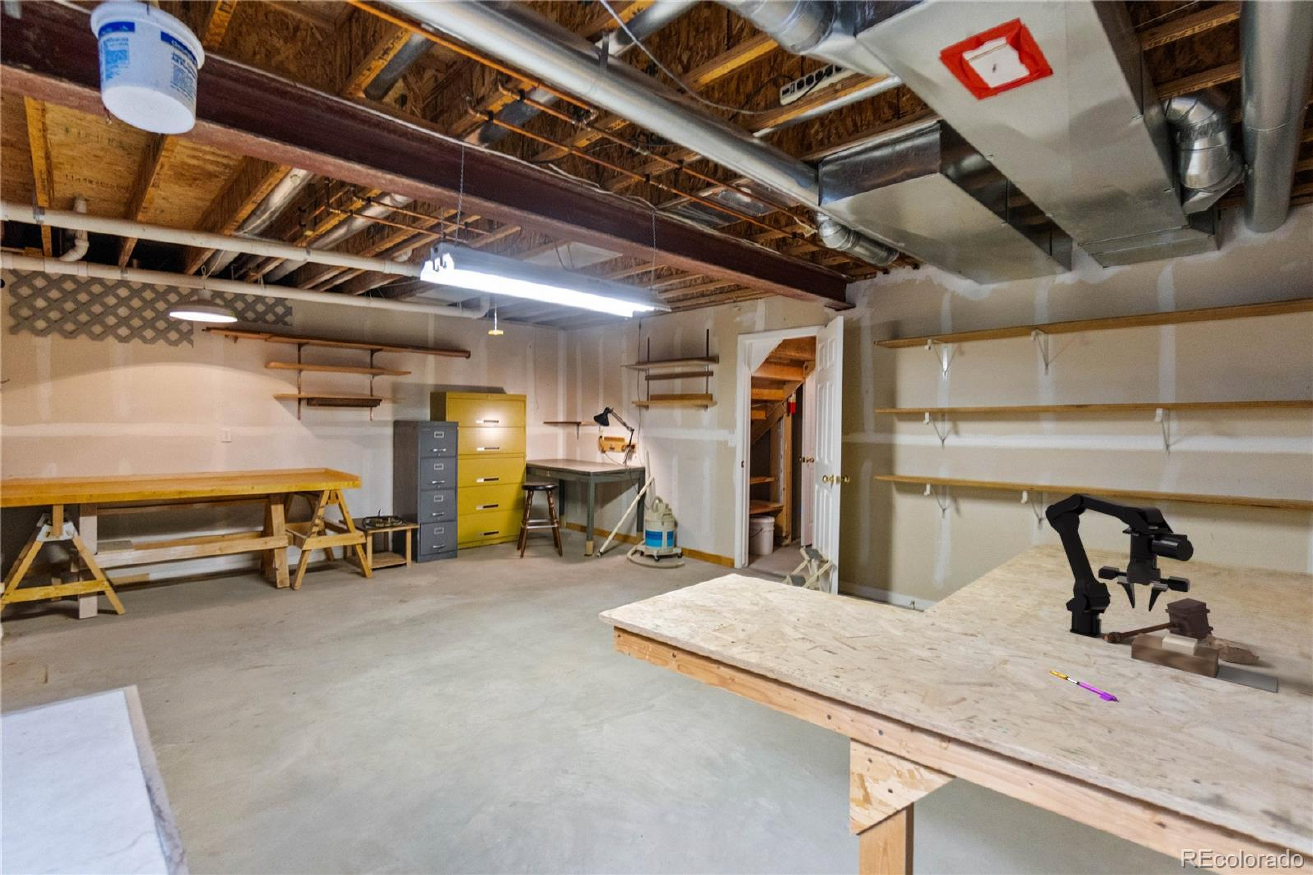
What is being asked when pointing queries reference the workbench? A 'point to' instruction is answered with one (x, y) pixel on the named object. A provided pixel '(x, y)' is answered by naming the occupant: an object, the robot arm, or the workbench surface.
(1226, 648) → the stone
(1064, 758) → the workbench surface
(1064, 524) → the robot arm
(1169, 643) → the cream rectangular block
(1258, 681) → the mat
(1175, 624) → the hammer
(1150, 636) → the plate
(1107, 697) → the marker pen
